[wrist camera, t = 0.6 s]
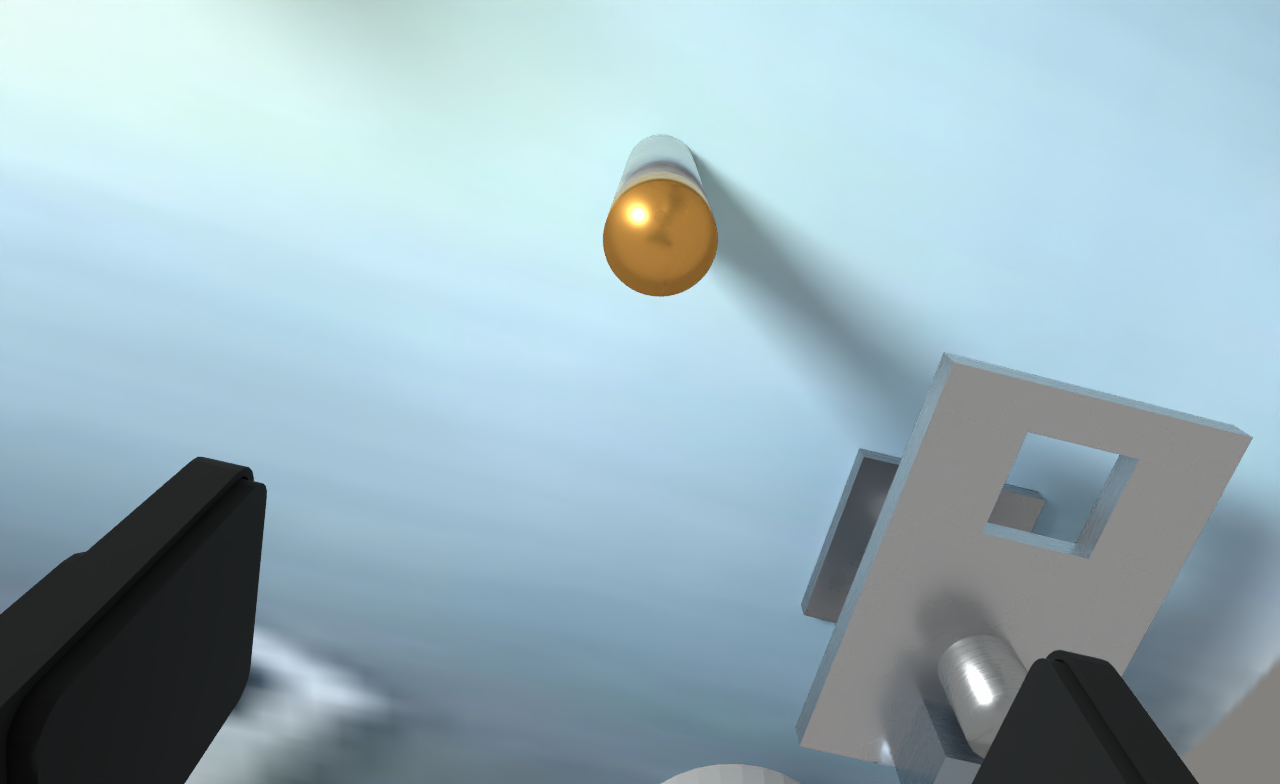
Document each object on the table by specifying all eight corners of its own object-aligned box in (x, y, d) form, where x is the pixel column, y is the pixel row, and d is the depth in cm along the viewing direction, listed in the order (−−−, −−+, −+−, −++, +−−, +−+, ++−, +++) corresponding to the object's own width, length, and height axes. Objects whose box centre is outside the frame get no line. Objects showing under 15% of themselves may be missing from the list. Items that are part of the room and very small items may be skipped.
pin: (635, 126, 32) (617, 169, 19) (703, 144, 32) (731, 198, 19) (619, 195, 33) (591, 281, 20) (684, 212, 33) (700, 308, 20)
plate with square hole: (890, 297, 34) (987, 396, 24) (1126, 357, 35) (1320, 479, 25) (744, 698, 41) (771, 908, 31) (943, 742, 42) (1035, 962, 32)
